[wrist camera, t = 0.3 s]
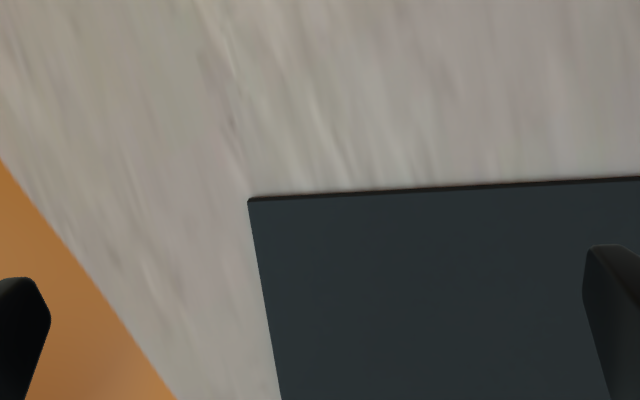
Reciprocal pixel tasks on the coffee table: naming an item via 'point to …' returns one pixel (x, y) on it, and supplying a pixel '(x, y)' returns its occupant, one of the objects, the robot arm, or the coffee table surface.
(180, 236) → the coffee table surface
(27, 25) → the coffee table surface
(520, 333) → the mat
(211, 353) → the coffee table surface
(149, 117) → the coffee table surface
